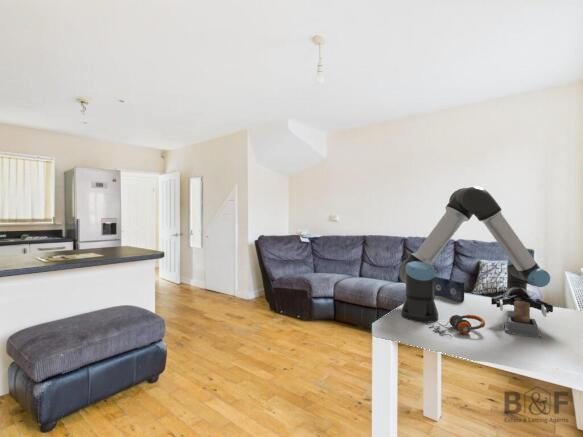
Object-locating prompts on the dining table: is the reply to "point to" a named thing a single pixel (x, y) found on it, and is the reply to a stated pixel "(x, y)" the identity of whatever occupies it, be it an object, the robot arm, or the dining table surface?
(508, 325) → the grey square tray
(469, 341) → the dining table surface
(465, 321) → the headphones
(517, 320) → the walnut cylinder
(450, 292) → the vhs cassette tape
